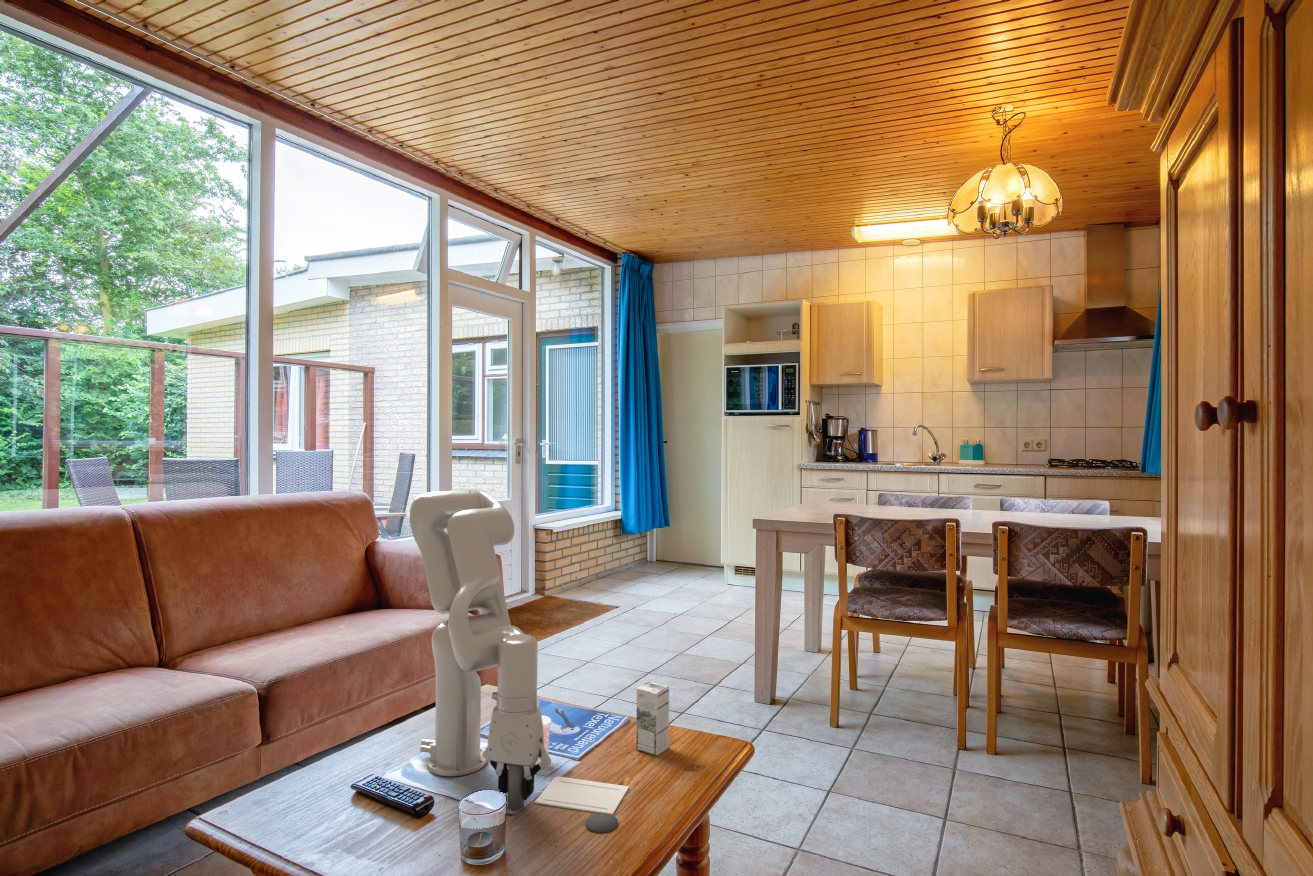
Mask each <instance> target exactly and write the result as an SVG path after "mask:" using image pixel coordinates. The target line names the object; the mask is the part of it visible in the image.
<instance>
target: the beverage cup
mask: <svg viewBox="0 0 1313 876" xmlns="http://www.w3.org/2000/svg"><path fill="white" fill-rule="evenodd" d="M539 701H540V697H538V696H537V706H539V707H540V705H539ZM541 716H542V723H543V734H544V748H545V750H546V752H547V754H548V755H549V744H550V727H551V726H552V719H551V717H549V716H547V715H542V714H541ZM538 762H541V760H540V758H539V757H538V760H537V762H536V764H537V763H538Z"/></svg>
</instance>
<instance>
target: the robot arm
mask: <svg viewBox="0 0 1313 876" xmlns="http://www.w3.org/2000/svg"><path fill="white" fill-rule="evenodd" d="M409 526H410V530H411V533H412V536H413V538H414V541H415V543H416V545H417V548H418V549H419V551H420V554H421V557H422V561H423V565H424V572H425V577H426V582H427V587H428V591H429V598H430V602H431V605H432V607H433V609H434V611H436V613H438V614H443V615H448V620H446V621H443V622H441V623H439V624H438V625H437V626H436V627H435V629H434V630H433V632H432V634H431V647H432V649H431V650H432V653H433V654H432V655H433V660H434V667H435V668H434V669H435V670H434V671H435V730H434V733H435V734H434V736H435V737H434V739H432V738H431V739H430V738H423V739H422V740H421V742H420V748H419V751H420V753H428V754H429V755H430V756H429V757H428V759H427V763H426V766H427V770H428V771H429V772H431V774H432V773H433V774H435V775H436V776H441V777H442V776H443V777H459V776H464V775H469V774H473V773H475V772H477V771H479V770H481V769H482V768H483V767H485V765H487V763H489V765H491V767H492V768H493V769H494V771H495V775H496V776H497V781H498V782H497V785H498V786H497V789H498V790H499V793H500V792H503V793H505V794H506V795H507V794H508V764H512V765H520V766H523V767H524V773H525V778H524V779H523V781H522V799H523V800H524V802H525V801H527V800H528V799H529V798H530V796H531V795H532V794H534V791H535V775H536V774H538V772H540V771H541V770H544V768H547V767H548V766H549V765H551V763H552V759H551V757H550V755H549V753H548V754H547V752H546V750H545V748H544V734H543V723H542V716H541V715H542V711H541V708H540V705H539V706H537V697H538V654H539V653H538V652H539V651H538V650H539V647H538V646H539V645H538V640H537V639H536V638H535V637H534V636H532V635H529V634H525V633H524V632H523V631H522V629H520V627H518V626H515V625H512V624H511V619H510V615H509V610H508V605H507V601H506V597H505V592H504V588H503V583H502V580H501V576H502V573H501V569H500V566H499V562H498V559H497V555H496V550H495V547H496V546H498V547H499V546H505V545H508V544H509V543H510V542H512V540H513V538H514V536H515V523H514V520H513V518H512V515H511V513H510V512H509V511H508V510H507V508H506V507H505V506H504V505H503V504H502V503H501V502H499V501H497V500H496V499H495V498H494V497H492V496H491V495H490V494H489V493H487V492H486V491H483V490H480V489H479V490H478V489H465V490H464V489H461V490H439V491H431V492H426V493H422V494H420V495H418V496H417V497H415V499H414V500H413V501H412V503H411V505H410V508H409ZM445 529H446V530H447V532H445ZM475 610H478V612H479V614H475V615H469V611H475ZM495 667H497V691H493V692H492V693H491V696H490V697H491V700H495V701H496V706H494V707H493V709H492V713H491V718H490V722H489V723H490V724H489V727H488V728H489V729H488V730H489V731H488V738H487V739H488V740H487V747H486V748H485V750H483V749H482V748H481V722H482V721H481V720H482V719H481V716H482V715H481V714H482V713H481V712H482V705H481V704H482V702H481V701H482V683H481V682H482V681H481V678H480V676H479V673H477V672H478V671H479V672H480V671H483V670H487V669H491V668H495ZM538 757H539V758H540V760H541V762H538V763H537V764H536V762H537V760H538Z"/></svg>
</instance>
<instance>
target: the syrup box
mask: <svg viewBox="0 0 1313 876" xmlns="http://www.w3.org/2000/svg"><path fill="white" fill-rule="evenodd" d="M669 718H670V686H669V685H665V684H660V683H657V682H652V681H648V682H645V683H643V684H641V685H640V686H638V687H637V688H636V719H635V720H636V722H635V723H636V724H635V725H636V729H635V730H636V734H635V736H636V738H635V739H636V741H635V742H636V743H635V744H636V745H635V747H636V748H635V749H636V751H639V752H643V753H647V754H650V755H652V756H659V755H661V753H663V752H664V751H666V750H667V749H668V748H669V747H670V743H669V742H670V741H669V739H670V737H669V735H670V734H669V733H670V728H669V727H670V725H669V723H670V722H669V721H670V719H669Z"/></svg>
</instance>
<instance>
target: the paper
mask: <svg viewBox="0 0 1313 876" xmlns="http://www.w3.org/2000/svg"><path fill="white" fill-rule="evenodd" d="M629 789H630V786H629V785H621V784H616V783H615V784H614V783H606V782H600V781H593V780H587V779H578V778H570V777H565V776H555V777H554V778H553V779H552V780H551V781H550V782H549V784H548V785H547V786H546V787H545V789H544V790H543V791H542V792H541V793H540V794H539V796H538V797H537V798H536V799H535V801H534V804H536V805H543V806H549V807H556V808H557V807H558V808H563V809H568V810H569V809H570V810H575V811H582V812H587V813H589V812H590V813H595V814H600V813H605V814H610V815H613V816H614V814H615V812H616V810H617V808H618V807H619V806H620V803H621V802H622V800H623V799H624V797H625V795H626V794H627V792H628V790H629Z"/></svg>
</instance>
